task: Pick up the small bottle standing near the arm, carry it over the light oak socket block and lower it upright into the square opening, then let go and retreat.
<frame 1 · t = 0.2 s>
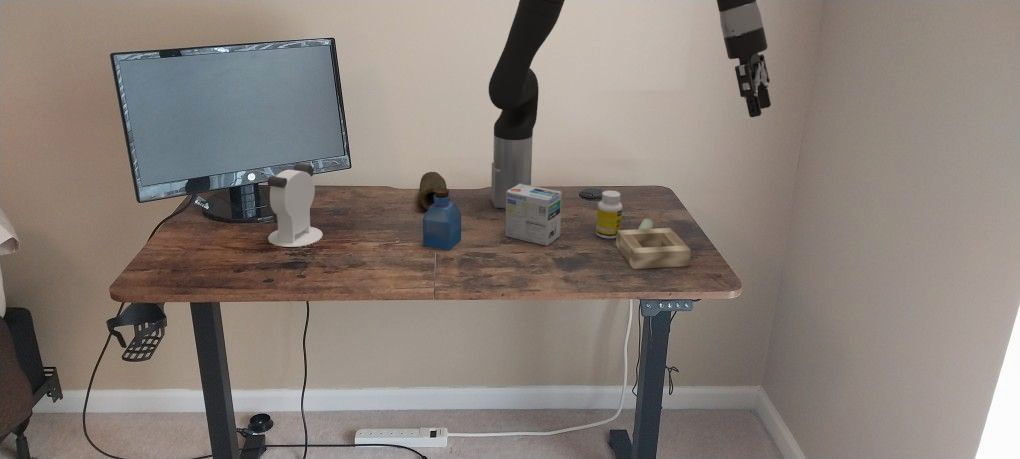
hand: (760, 111, 154), 31 cm above the table, tool tilted 20°, fingers open, 8 cm apart
lying dowel: (643, 235, 175), on the table
light bulb box: (532, 237, 172), on the table
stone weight: (433, 203, 191), on the table
perfume bottle: (442, 243, 168), on the table
supplement bottle: (607, 235, 174), on the table
socket block: (651, 255, 164), on the table
headphone stand: (296, 237, 169), on the table
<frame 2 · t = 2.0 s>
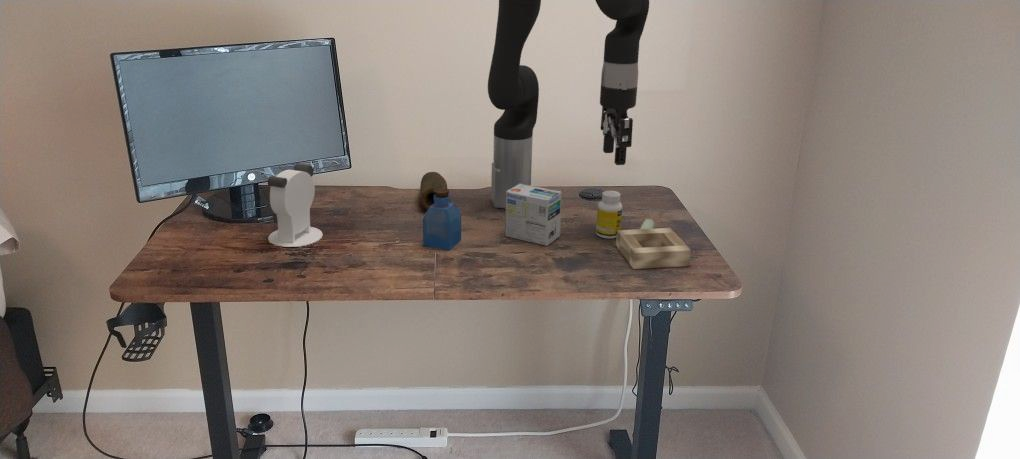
hand: (613, 158, 167), 18 cm above the table, tool pointing down, fingers open, 8 cm apart
lying dowel: (643, 235, 175), on the table, tilted 17°
everything else where it was.
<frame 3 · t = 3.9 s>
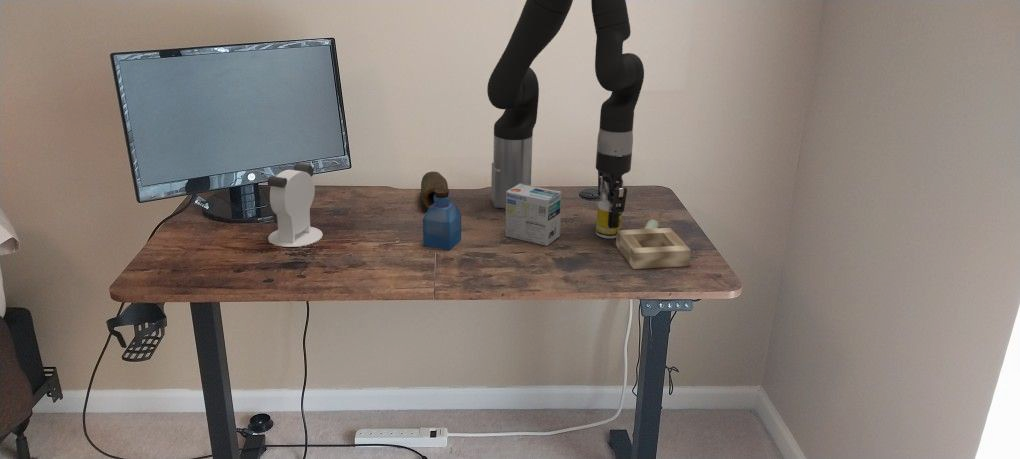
hand: (608, 222, 173), 3 cm above the table, tool pointing down, fingers closed on supplement bottle, 5 cm apart
lying dowel: (644, 232, 174), on the table, tilted 61°
supplement bottle: (607, 235, 174), on the table, touching gripper
everything else where it was.
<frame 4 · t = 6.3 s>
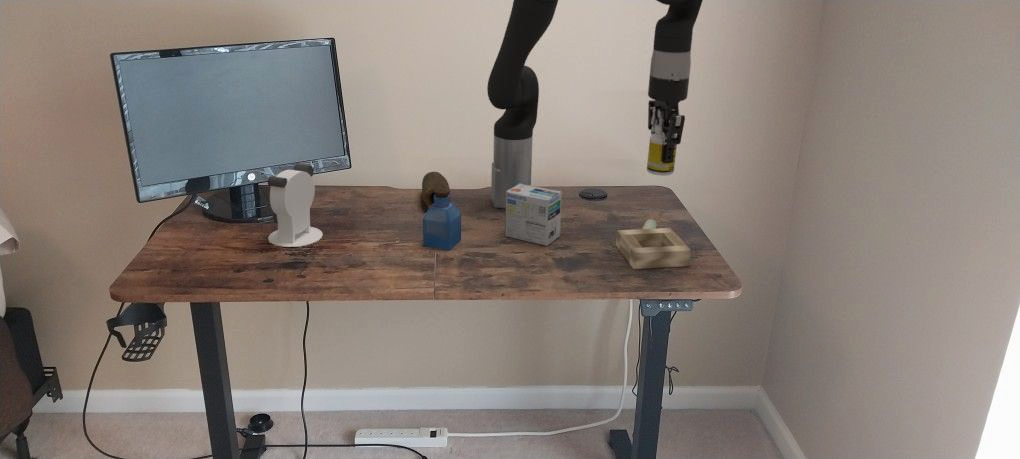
hand: (661, 157, 156), 21 cm above the table, tool pointing down, fingers closed on supplement bottle, 5 cm apart
lying dowel: (643, 234, 175), on the table, tilted 40°
supplement bottle: (660, 173, 157), point 18 cm above the table, touching gripper
everything else where it was.
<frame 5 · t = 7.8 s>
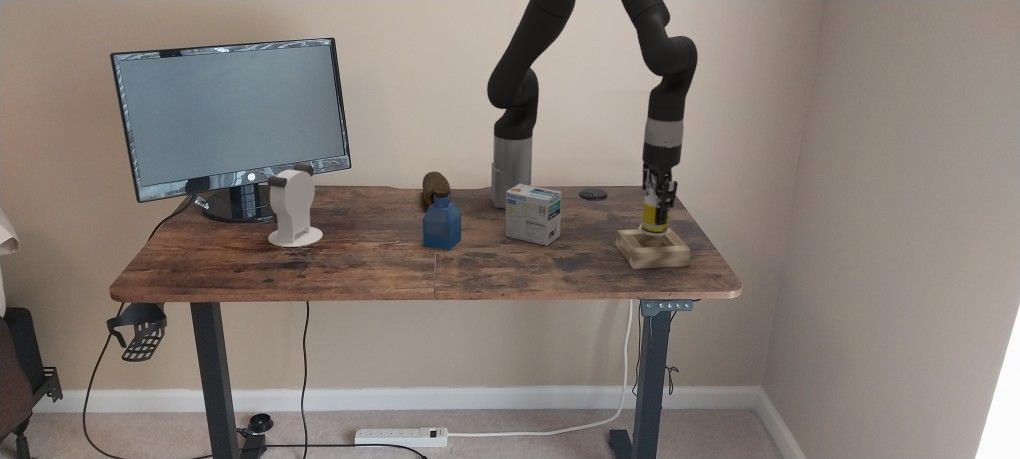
hand: (655, 218, 161), 8 cm above the table, tool pointing down, fingers closed on supplement bottle, 5 cm apart
lying dowel: (643, 235, 175), on the table
supplement bottle: (653, 232, 162), point 5 cm above the table, touching gripper
everything else where it was.
when the fingers open (4 cm above the table, at t = 9.0 s): supplement bottle drops 1 cm, resting in socket block.
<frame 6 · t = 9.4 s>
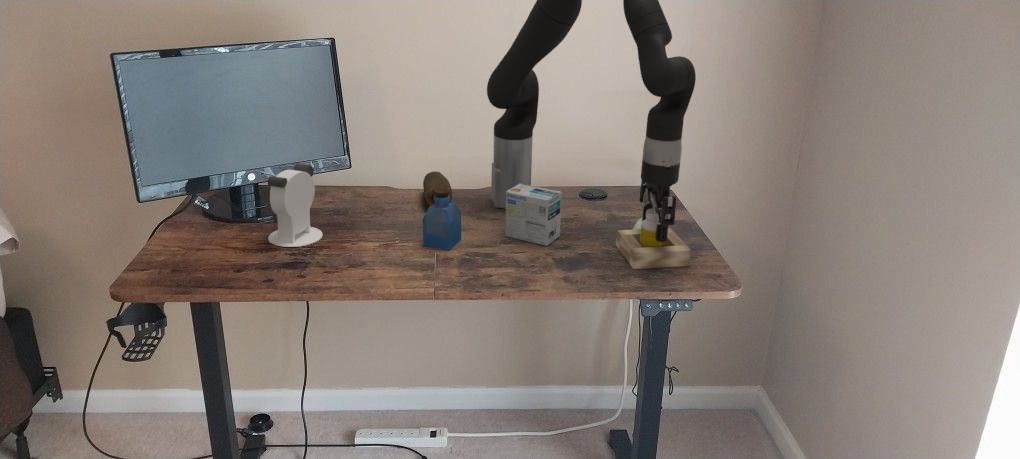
hand: (653, 233, 162), 5 cm above the table, tool pointing down, fingers open, 8 cm apart
lying dowel: (643, 233, 174), on the table, tilted 53°
supplement bottle: (651, 256, 164), resting in socket block
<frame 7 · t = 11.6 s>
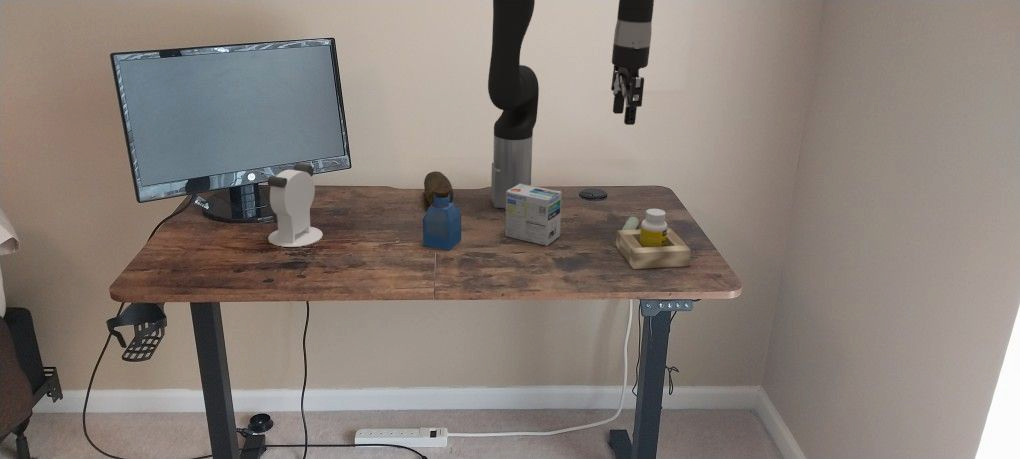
hand: (623, 118, 168), 26 cm above the table, tool pointing down, fingers open, 8 cm apart
lying dowel: (632, 223, 175), point 2 cm above the table, tilted 158°
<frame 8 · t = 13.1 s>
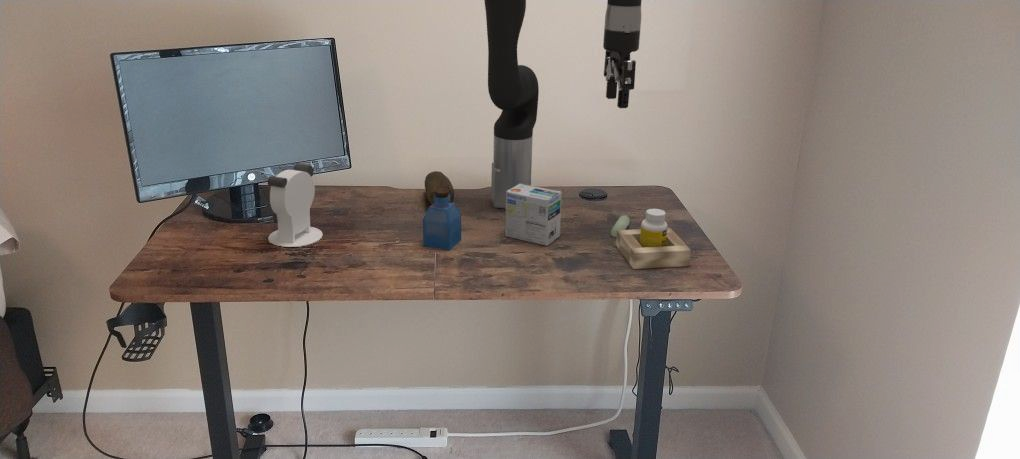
hand: (616, 103, 170), 28 cm above the table, tool pointing down, fingers open, 8 cm apart
lying dowel: (615, 224, 176), point 1 cm above the table, tilted 102°
at the end: supplement bottle 0.1 cm off-centre on the socket block, point 0.0 cm above the socket block's base; supplement bottle tilted 0°; the gripper is holding nothing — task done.
